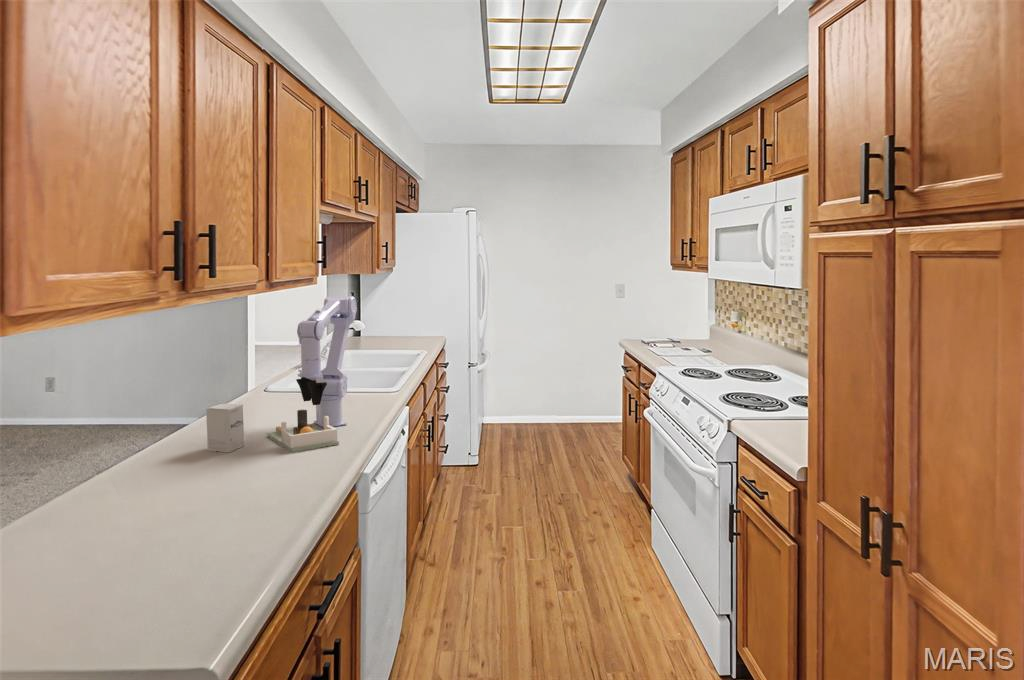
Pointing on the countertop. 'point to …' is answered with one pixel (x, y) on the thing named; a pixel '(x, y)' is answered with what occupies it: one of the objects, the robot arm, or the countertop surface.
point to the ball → (306, 430)
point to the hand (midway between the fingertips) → (311, 402)
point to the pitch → (305, 437)
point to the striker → (301, 421)
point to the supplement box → (225, 427)
